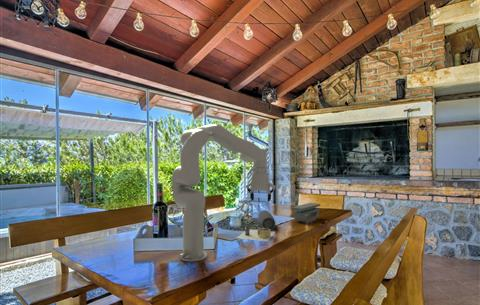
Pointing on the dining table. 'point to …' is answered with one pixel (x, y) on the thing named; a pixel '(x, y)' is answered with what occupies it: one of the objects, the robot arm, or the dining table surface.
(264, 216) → the bluetooth speaker
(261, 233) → the brass ring
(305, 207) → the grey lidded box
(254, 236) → the cream base plate
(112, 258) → the dining table surface
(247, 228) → the hub post
